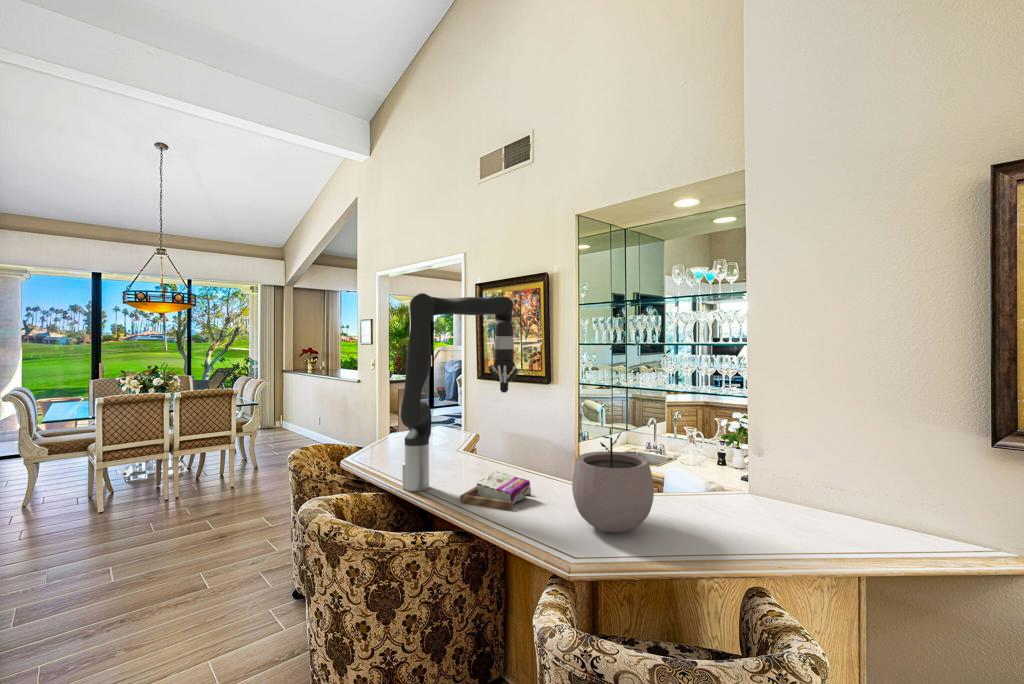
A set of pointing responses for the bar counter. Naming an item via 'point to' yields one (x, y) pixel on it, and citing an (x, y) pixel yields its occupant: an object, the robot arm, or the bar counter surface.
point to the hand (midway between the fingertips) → (504, 392)
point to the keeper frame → (485, 500)
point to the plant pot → (613, 489)
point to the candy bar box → (503, 487)
